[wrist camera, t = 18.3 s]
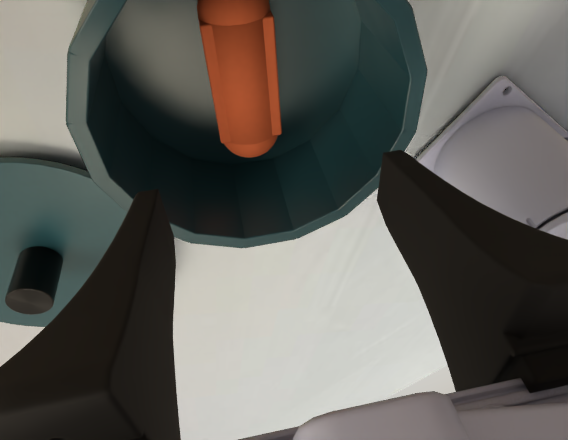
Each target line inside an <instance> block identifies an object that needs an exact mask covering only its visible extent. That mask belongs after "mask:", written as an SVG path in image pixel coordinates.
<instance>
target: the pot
mask: <svg viewBox="0 0 568 440" xmlns="http://www.w3.org/2000/svg"><path fill="white" fill-rule="evenodd" d="M197 5H198V0H87V3H86V5H85V8H84V10H83V13H82V15H81V18H80V21H79V23H78V26H77V28H76V31H75V33H74V36H73V38H72V41H71V44H70V46H69V50H68V54H67V95H66V122H67V123H66V125H67V127H68V129H69V131H70V133H71V136H72V138H73V140H74V142H75V144H76V146H77V148H78V151H79V153H80V155H81V157H82V159H83V161H84V163H85V166H86V168H87V170H88V172H89V174H90V176H91V178H92V181H93V182H94V183H95V184H96V185H97V186H98V187H99V188H101V189H102V190H103V191H104V192H105V193H106V194H107V195H108V196H109V197H111V198H112V199H113V200H114V201H115V202H116V203H117V204H118V205H119V206H121V207H122V208H123V209H124V210H125V211H126V212H128V210H129V208H130V206H131V204H132V202H133V200H134V197H135V195H136V194H137V193H138V192H141V191H148V190H154V189H158V190H159V193H160V196H161V199H162V202H163V205H164V208H165V211H166V214H167V217H168V220H169V223H170V226H171V229H172V232H173V235H174V237H176V238H179V239H181V240H183V241H186V242H190V243H194V244H204V245H215V246H225V247H236V248H248V247H254V246H260V245H265V244H271V243H277V242H282V241H288V240H294V239H296V238H300V237H302V236H304V235H306V234H308V233H310V232H313V231H315V230H317V229H319V228H321V227H323V226H325V225H327V224H330V223H332V222H334V221H336V220H338V219H340V218H342V217H344V216H345V215H347V214H348V213H350V212H351V211H352V210H353V209H354V208H355V207H356V206H358V205H359V204H360V203H361V202H362V201H363V200H365V199H366V198H367V197H368V196H369V195H370V194H371V193H373V192H374V191H375V190H376V189H377V188H378V187H379V180H380V172H381V164H382V157H383V153H384V152H390V151H396V150H402V151H405V149H406V148H407V146H408V144H409V143H410V141H411V140H412V138H413V136H414V135H415V133H416V130H417V125H418V120H419V114H420V109H421V103H422V98H423V93H424V87H425V82H426V77H427V67H426V62H425V58H424V54H423V50H422V46H421V42H420V38H419V34H418V30H417V25H416V21H415V17H414V13H413V9H412V7H411V5H410V4H409V2H408V1H407V0H269V5H270V10H271V13H272V15H273V17H274V24H275V39H276V54H277V68H278V83H279V98H280V113H281V127H282V133H281V134H280V135H278V136H277V139H276V141H275V143H274V145H273V146H272V147H271V148H270V149H269V150H268V151H267V152H266V153H264V154H262V155H260V156H257V157H252V158H247V157H241V156H238V155H236V154H234V153H233V152H231V151H230V150H229V149H228V148H227V147H226V146H225V144H224V143H221V140H220V135H219V129H218V124H217V119H216V113H215V108H214V102H213V97H212V92H211V86H210V81H209V76H208V70H207V65H206V59H205V54H204V49H203V43H202V38H201V32H200V27H199V20H198V12H197Z"/></svg>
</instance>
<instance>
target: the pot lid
mask: <svg viewBox="0 0 568 440" xmlns="http://www.w3.org/2000/svg"><path fill="white" fill-rule="evenodd" d="M126 214H127V212H126V211H125V210H124V209H123V208H122V207H121V206H119V205H118V204H117V203H116V202H115V201H114V200H113V199H112V198H111V197H109V196H108V195H107V194H106V193H105V192H104V191H103V190H102V189H101V188H99V187H98V186H97V185H96V184H95V183H94V182H93V181H92V178H91V176H90V174H89V172H87V171H85V170H82V169H79V168H76V167H72V166H69V165H66V164H62V163H57V162H52V161H47V160H42V159H32V158H22V157H0V322H4V323H10V324H16V325H24V326H37V327H46V326H47V325H48V324H49V323H50V322H51V321H52V320H53V319H54V318H55V317H56V316H57V315H58V314H59V313H60V312H61V310H62V309H63V308H64V307H65V306H66V305H67V304H68V303H69V301H70V300H71V299H72V298H73V297H74V296H75V294H76V293H77V292H78V291H79V289H80V288H81V287H82V286H83V284H84V283H85V282H86V280H87V279H88V278H89V276H90V275H91V273H92V272H93V271H94V269H95V268H96V266H97V265H98V263H99V262H100V260H101V258H102V257H103V255H104V254H105V252H106V251H107V249H108V247H109V246H110V244H111V242H112V241H113V239H114V237H115V235H116V233H117V232H118V230H119V228H120V226H121V224H122V222H123V220H124V218H125V216H126Z"/></svg>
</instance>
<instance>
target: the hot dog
mask: <svg viewBox="0 0 568 440" xmlns="http://www.w3.org/2000/svg"><path fill="white" fill-rule="evenodd" d="M197 12H198V20H199V27H200V32H201V38H202V43H203V49H204V54H205V59H206V65H207V70H208V76H209V81H210V86H211V92H212V97H213V102H214V108H215V113H216V119H217V124H218V129H219V135H220V140H221V143H224V144H225V146H226V147H227V148H228V149H229V150H230V151H231V152H233V153H234V154H236V155H238V156H241V157H247V158H252V157H257V156H260V155H262V154H264V153H266V152H267V151H268V150H269V149H270V148H271V147H272V146H273V145H274V143H275V141H276V139H277V136H278V135H280V134H281V133H282V127H281V113H280V98H279V83H278V68H277V54H276V39H275V24H274V17H273V15H272V13H271V10H270V5H269V0H198V5H197Z"/></svg>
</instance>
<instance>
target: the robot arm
mask: <svg viewBox="0 0 568 440" xmlns="http://www.w3.org/2000/svg"><path fill="white" fill-rule="evenodd" d="M507 87H508V88H507ZM505 88H507V89H506V90H505V91H504V92H503V90H504V89H505ZM377 201H378V204H379V207H380V210H381V213H382V216H383V218H384V221H385V224H386V226H387V228H388V230H389V232H390V234H391V236H392V237H393V239H394V241H395V243H396V245H397V247H398V249H399V251H400V252H401V254H402V256H403V258H404V260H405V262H406V264H407V265H408V267H409V269H410V271H411V273H412V275H413V276H414V278H415V281H416V283H417V285H418V287H419V289H420V291H421V294H422V296H423V299H424V301H425V304H426V306H427V309H428V311H429V314H430V316H431V319H432V322H433V324H434V327H435V330H436V333H437V335H438V338H439V341H440V344H441V347H442V350H443V352H444V355H445V358H446V361H447V364H448V367H449V370H450V374H451V377H452V380H453V383H454V387H455V390H456V392H454V393H449V394H441V393H438V392H435V391H432V392H422V393H415V394H411V395H406V396H402V397H397V398H392V399H388V400H383V401H378V402H374V403H369V404H365V405H360V406H355V407H351V408H346V409H342V410H337V411H332V412H329V413H326V414H323V415H320V416H317V417H314V418H312V419H310V420H309V421H307V422H305V423H304V424H302V425H301V426H298V427H294V428H289V429H285V430H280V431H275V432H271V433H266V434H262V435H257V436H253V437H248V438H243V439H239V440H568V132H567V131H566V130H565V129H564V128H562V127H561V126H560V125H559V124H558V123H557V122H556V121H555V120H554V119H552V118H551V117H550V116H549V115H548V114H547V113H546V112H545V111H544V110H543V109H541V108H540V107H539V106H538V105H537V104H536V103H535V102H534V101H533V100H531V99H530V98H529V97H528V96H527V95H526V94H525V93H524V92H523V91H522V90H520V89H519V88H518V87H517V86H516V85H515V84H514V83H513V82H512V81H510V80H509V79H508V78H507V77H505V76H500V77H497V78H496V79H495V80H494V81H493V82H492V83H491V84H490V85H489V86H488V87H487V88H486V89H485V90H484V91H483V92H482V93H481V94H480V95H479V96H478V97H477V98H476V99H475V100H474V101H473V102H472V103H471V104H470V105H469V106H468V107H467V108H466V109H465V110H464V111H463V112H462V113H461V114H460V115H459V116H458V117H457V118H456V119H455V120H454V121H453V122H452V123H451V124H450V125H449V126H448V127H447V128H446V129H445V130H444V131H443V132H442V133H441V134H440V135H439V136H438V137H437V138H436V139H435V140H434V141H433V142H432V143H431V144H430V145H429V146H428V147H427V148H426V149H425V150H424V151H423V152H422V153H421V154H420V155H419V156H418V157H417V158H416V159H414V158H412V157H411V156H410V155H408V154H407V153H405V152H404V151H402V150H396V151H390V152H384V153H383V157H382V164H381V172H380V180H379V188H378V196H377ZM175 269H176V260H175V246H174V235H173V232H172V229H171V226H170V223H169V220H168V217H167V214H166V211H165V208H164V205H163V202H162V199H161V196H160V193H159V190H158V189H154V190H148V191H141V192H138V193H137V194H136V195H135V197H134V200H133V202H132V204H131V206H130V208H129V210H128V212H127V214H126V216H125V218H124V220H123V222H122V224H121V226H120V228H119V230H118V232H117V233H116V235H115V237H114V239H113V241H112V242H111V244H110V246H109V247H108V249H107V251H106V252H105V254H104V255H103V257H102V258H101V260H100V262H99V263H98V265H97V266H96V268H95V269H94V271H93V272H92V273H91V275H90V276H89V278H88V279H87V280H86V282H85V283H84V284H83V286H82V287H81V288H80V289H79V291H78V292H77V293H76V294H75V296H74V297H73V298H72V299H71V300H70V301H69V303H68V304H67V305H66V306H65V307H64V308H63V309H62V310H61V312H60V313H59V314H58V315H57V316H56V317H55V318H54V319H53V320H52V321H51V322H50V323H49V324H48V325H47V326H46V327H45V328H44V329H43V330H42V331H41V332H40V333H39V334H38V335H37V336H36V337H35V338H34V339H32V340H31V341H30V342H29V343H28V344H27V345H26V346H25V347H24V348H23V349H21V350H20V351H19V352H18V353H17V354H15V355H14V356H13V357H12V358H11V359H9V360H8V361H7V362H6V363H5V364H3V365H2V366H1V367H0V440H181V438H180V428H179V417H178V406H177V394H176V380H175V366H174V350H173V310H174V290H175Z"/></svg>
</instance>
